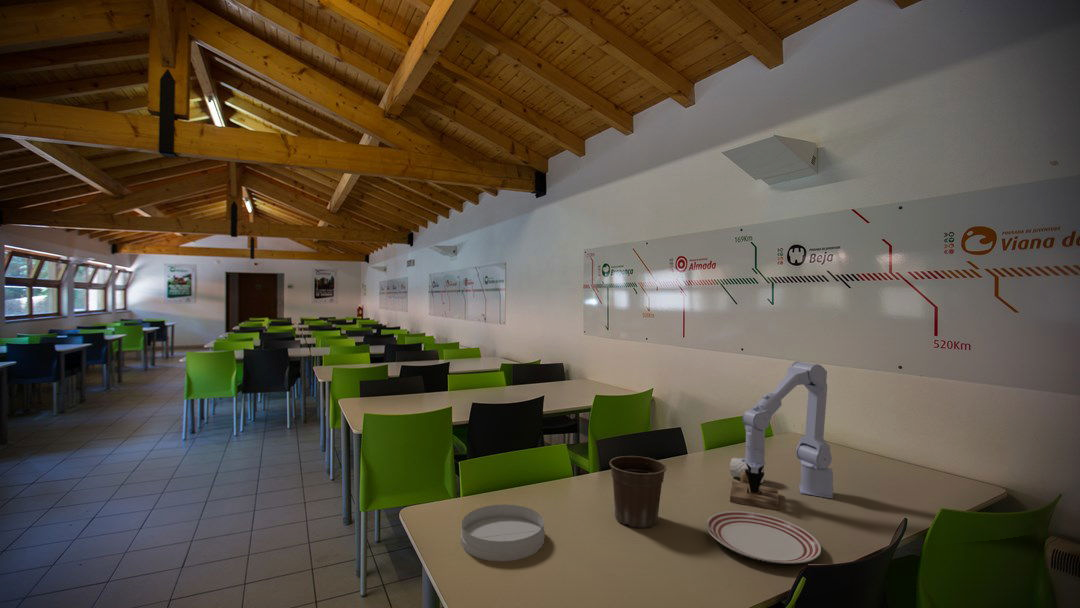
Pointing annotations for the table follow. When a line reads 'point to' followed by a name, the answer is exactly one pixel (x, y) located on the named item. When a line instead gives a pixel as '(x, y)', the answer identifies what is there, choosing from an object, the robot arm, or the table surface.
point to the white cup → (739, 468)
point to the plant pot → (637, 489)
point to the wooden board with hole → (754, 496)
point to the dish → (502, 532)
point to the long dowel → (754, 493)
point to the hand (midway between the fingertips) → (754, 488)
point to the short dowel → (744, 478)
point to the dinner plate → (763, 537)
